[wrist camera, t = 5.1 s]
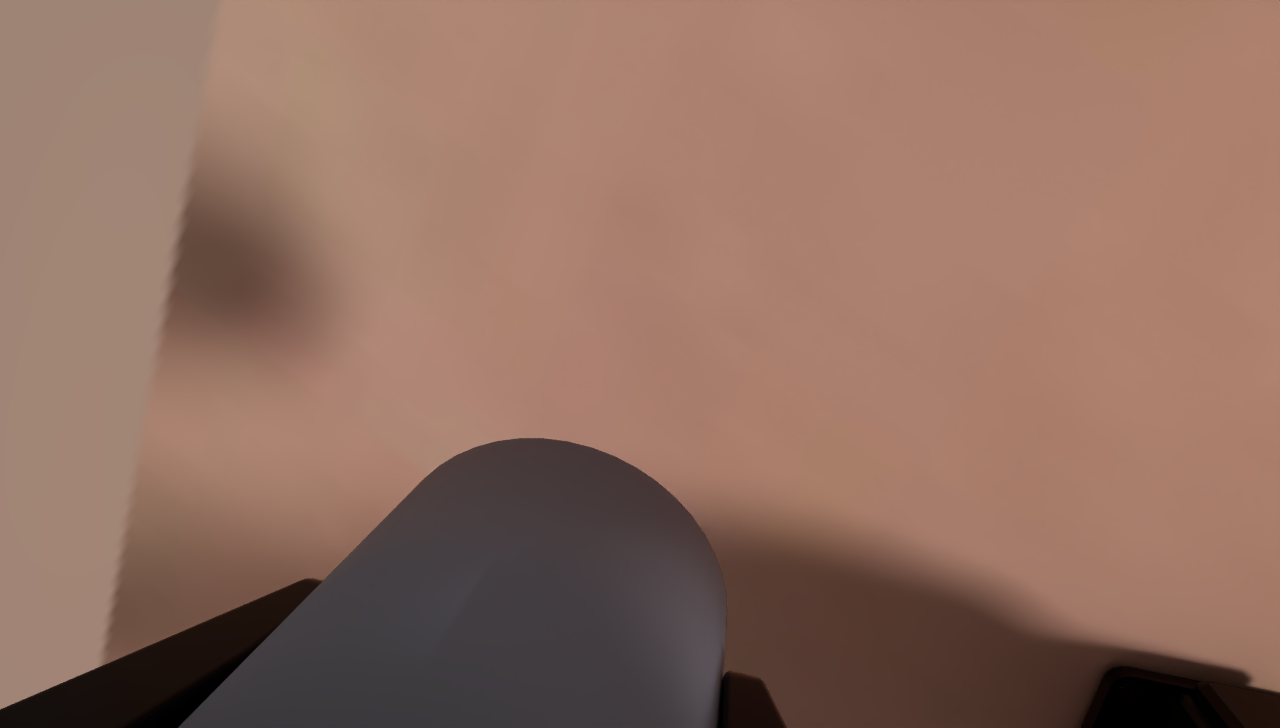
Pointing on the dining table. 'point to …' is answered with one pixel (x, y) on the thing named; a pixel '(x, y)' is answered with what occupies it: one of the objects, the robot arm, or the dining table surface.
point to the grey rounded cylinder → (503, 609)
